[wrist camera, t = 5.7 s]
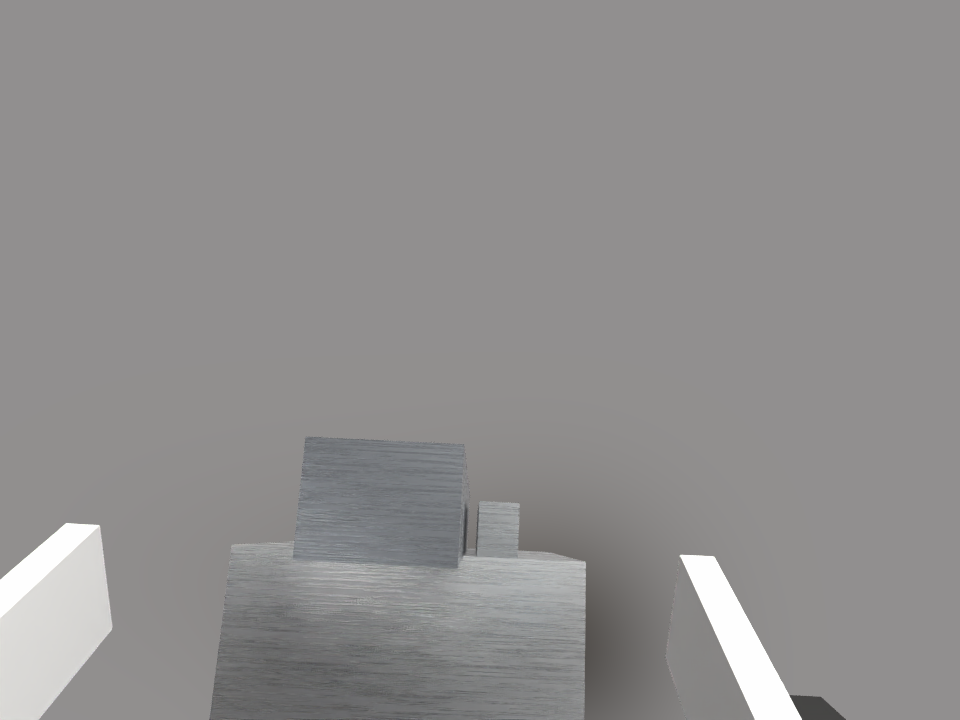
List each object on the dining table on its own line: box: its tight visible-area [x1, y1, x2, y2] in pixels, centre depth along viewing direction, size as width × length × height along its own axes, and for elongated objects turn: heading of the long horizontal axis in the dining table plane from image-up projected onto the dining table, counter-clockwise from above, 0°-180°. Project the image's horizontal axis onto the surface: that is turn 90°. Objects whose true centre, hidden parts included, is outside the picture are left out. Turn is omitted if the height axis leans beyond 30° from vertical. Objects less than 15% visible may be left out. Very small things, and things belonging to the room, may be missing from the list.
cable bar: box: [292, 437, 470, 569], centre depth 29 cm, size 4×24×3 cm, turn 1°
